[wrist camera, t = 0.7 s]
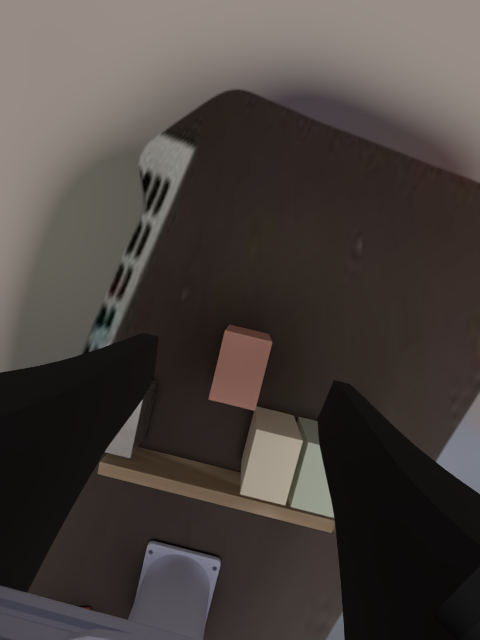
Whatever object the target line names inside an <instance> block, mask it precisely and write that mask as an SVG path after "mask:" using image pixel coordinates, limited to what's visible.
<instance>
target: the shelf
mask: <svg viewBox="0 0 480 640" xmlns="http://www.w3.org/2000/svg"><path fill="white" fill-rule="evenodd" d="M98 474H100V475H104V476H108V477H112V478H116V479H120V480H124V481H128V482H132V483H136V484H140V485H144V486H148V487H152V488H156V489H160V490H164V491H168V492H172V493H176V494H180V495H184V496H187V497H191V498H195V499H199V500H203V501H207V502H211V503H215V504H219V505H223V506H227V507H231V508H235V509H239V510H243V511H247V512H251V513H255V514H259V515H263V516H267V517H271V518H275V519H279V520H283V521H287V522H291V523H295V524H298V525H302V526H306V527H310V528H314V529H318V530H322V531H326V532H330V533H332V530H333V529H334V532H335V534H336V529H335V520H334V518H332V517H328V516H325V515H321V514H317V513H313V512H309V511H305V510H301V509H297V508H293V507H291V506H290V501H289V496H288V497H287V501H286V505H281V504H277V503H273V502H269V501H265V500H261V499H257V498H253V497H249V496H245V495H241V494H240V483H241V472H237V471H233V470H229V469H225V468H221V467H217V466H213V465H209V464H205V463H201V462H197V461H193V460H189V459H185V458H181V457H177V456H173V455H169V454H165V453H161V452H157V451H153V450H149V449H145V448H141V447H138V448H137V450H136V451H135V452H134V454H133V455H132V457H131V458H127V457H123V456H119V455H115V454H111V453H108V454H107V455H106V456H105V457H104V458H103V459H102V460H101V461H100V464H99V469H98Z"/></svg>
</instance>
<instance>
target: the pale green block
mask: <svg viewBox="0 0 480 640" xmlns="http://www.w3.org/2000/svg"><path fill="white" fill-rule="evenodd" d="M297 426H298V429H299V431H300V434H301V437H302V439H303V443H302V446H301V450H300V454H299V457H298V461H297V464H296V468H295V472H294V475H293V479H292V483H291V486H290V490H289V494H288V496H289V501H290V506H291V507H293V508H297V509H301V510H305V511H309V512H313V513H317V514H321V515H325V516H328V517H332V518H334V513H333V507H332V502H331V497H330V492H329V488H328V483H327V479H326V474H325V469H324V465H323V460H322V455H321V450H320V445H319V436H318V421H314V420H310V419H306V418H302V417H298V420H297Z"/></svg>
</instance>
